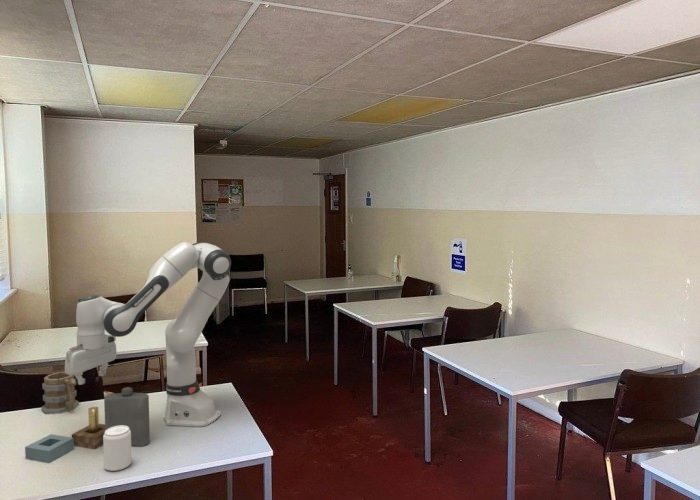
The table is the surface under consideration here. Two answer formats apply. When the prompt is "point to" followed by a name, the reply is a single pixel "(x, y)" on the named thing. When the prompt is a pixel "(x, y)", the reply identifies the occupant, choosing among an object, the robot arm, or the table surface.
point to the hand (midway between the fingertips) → (92, 379)
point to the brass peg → (93, 420)
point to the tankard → (59, 393)
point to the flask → (129, 414)
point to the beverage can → (117, 448)
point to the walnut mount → (89, 437)
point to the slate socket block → (49, 448)
